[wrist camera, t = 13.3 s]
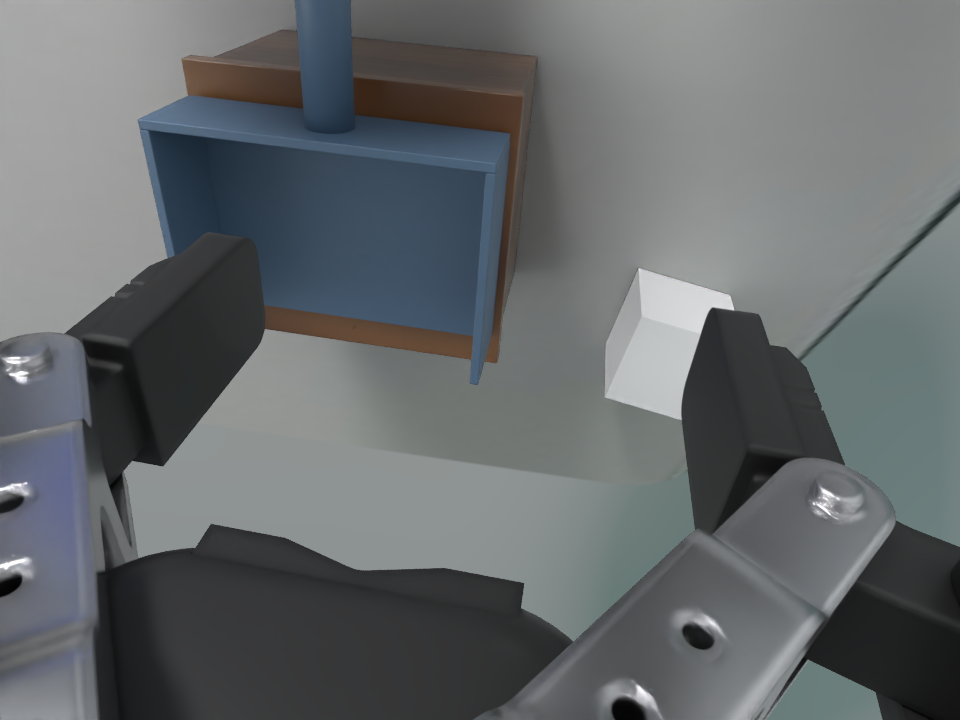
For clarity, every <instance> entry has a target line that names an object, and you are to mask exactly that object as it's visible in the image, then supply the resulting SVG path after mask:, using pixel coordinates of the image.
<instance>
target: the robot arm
mask: <svg viewBox="0 0 960 720" xmlns="http://www.w3.org/2000/svg"><path fill="white" fill-rule="evenodd" d="M265 320H266V316H265V307H264V299H263V291H262V283H261V275H260V268H259V260H258V253H257V248H256V245H255V243H254V242H253V240H251V239H250V238H245V237H238V236H231V235H225V234H218V233H211V232H208V233H205V234H204V235H202V236H201V237H200V238H199V239H198V240H196V241H195V242H194V243H193V244H192V245H190V246H189V247H188V248H187V249H186V250H184V251H183V252H182V253H181V254H179V255H175V256H172V257H170V258H167V259H165V260H163V261H160V262H158V263H155V264H153V265H151V266H149V267H147V268H146V269H145V270H144V271H142V272H141V273H140V274H139V275H137V276H136V277H135V278H134V279H132V280H131V283H130V284H126V285H125V286H124V287H122V288H121V289H120V290H119V291H117V292H116V293H115V297H112V296H111V297H110V298H109V299H107V300H106V301H105V302H104V303H102V304H101V305H100V306H99V307H97V308H96V309H95V310H93V311H92V312H91V313H90V314H88V315H87V316H86V317H85V318H83V319H82V320H81V321H80V322H78V323H77V324H76V325H75V326H73V327H72V328H71V329H70V330H68V331H67V332H66V333H65V334H62V333H53V332H43V333H32V334H26V335H21V336H17V337H14V338H10V339H7V340H5V341H2V342H0V720H766V719H767V718H768V716H769V715H770V714H771V712H772V711H773V710H774V708H775V707H776V705H777V704H778V703H779V701H780V700H781V698H782V697H783V696H784V694H785V693H786V691H787V690H788V689H789V687H790V686H791V684H792V683H793V682H794V680H795V679H796V677H797V676H798V674H799V673H800V672H801V670H802V669H803V667H804V666H805V665H806V663H807V662H808V660H810V661H812V662H814V663H817V664H819V665H821V666H823V667H825V668H827V669H829V670H831V671H833V672H835V673H837V674H840V675H842V676H844V677H846V678H848V679H850V680H852V681H854V682H856V683H858V684H861V685H863V686H865V687H867V688H869V689H871V690H873V691H875V692H876V695H877V699H878V703H879V707H880V711H881V715H882V719H883V720H960V547H958V546H955V545H953V544H950V543H948V542H945V541H943V540H940V539H937V538H935V537H932V536H930V535H927V534H925V533H922V532H920V531H917V530H914V529H912V528H910V527H908V526H905V525H903V524H901V523H900V522H898V521H896V515H895V510H894V508H893V505H892V504H891V502H890V500H889V499H888V497H887V496H886V495H885V493H884V492H883V491H882V490H881V489H880V488H879V487H878V486H877V485H876V484H875V483H873V482H872V481H871V480H869V479H868V478H867V477H865V476H863V475H862V474H860V473H859V472H857V471H855V470H853V469H851V468H849V467H847V466H845V463H844V461H843V459H842V456H841V453H840V451H839V449H838V446H837V443H836V441H835V438H834V436H833V433H832V431H831V428H830V426H829V423H828V421H827V418H826V416H825V413H824V411H822V410H821V407H822V406H821V403H820V401H819V398H818V396H817V393H814V390H815V388H814V385H813V383H812V381H811V378H810V375H809V373H808V371H807V368H806V367H805V366H804V365H803V364H802V363H801V362H800V361H799V360H798V359H797V358H796V357H795V356H794V355H793V354H792V353H791V352H790V351H789V350H788V349H787V348H785V347H778V346H771V345H770V344H769V341H768V338H767V335H766V332H765V329H764V326H763V323H762V320H761V318H760V316H759V314H755V313H749V312H742V311H735V310H728V309H721V308H715V307H713V308H711V309H710V311H709V312H708V314H707V317H706V319H705V322H704V325H703V328H702V332H701V335H700V338H699V341H698V344H697V347H696V351H695V354H694V357H693V360H692V363H691V366H690V370H689V373H688V376H687V379H686V382H685V386H684V391H683V397H682V406H681V417H682V426H683V434H684V442H685V451H686V459H687V467H688V475H689V484H690V492H691V500H692V508H693V516H694V525H695V531H693V532H692V533H690V534H689V535H688V536H687V537H686V538H685V539H684V540H683V541H681V542H680V543H679V544H678V545H677V546H676V547H675V548H674V549H673V550H672V551H671V552H670V553H669V554H667V555H666V556H665V557H664V558H663V559H662V560H661V561H660V562H659V563H658V564H657V565H656V566H654V567H653V568H652V569H651V570H650V571H649V572H648V573H647V574H646V575H645V576H644V577H643V578H642V579H640V581H638V582H637V583H636V584H635V585H634V586H633V587H632V588H631V589H630V590H629V591H628V592H626V593H625V594H624V595H623V596H622V597H621V598H620V599H619V600H618V601H617V602H616V603H615V604H614V605H613V606H611V607H610V608H609V609H608V610H607V611H606V612H605V613H604V614H603V615H602V616H601V617H600V618H599V619H597V620H596V621H595V622H594V623H593V624H592V625H591V626H590V627H589V628H588V629H587V630H586V631H584V632H583V633H582V634H581V635H580V636H579V637H578V638H577V639H576V640H575V641H574V642H573V641H572V640H571V639H570V638H569V637H567V636H566V635H565V634H563V633H562V632H561V631H560V630H558V629H557V628H556V627H554V626H553V625H551V624H550V623H548V622H546V621H544V620H543V619H541V618H540V617H538V616H536V615H534V614H532V613H530V612H528V611H526V610H523V609H521V603H522V595H523V588H524V583H521V582H515V581H509V580H505V579H499V578H494V577H488V576H483V575H478V574H473V573H468V572H462V571H457V570H452V569H446V568H433V569H402V570H371V571H364V570H363V571H361V570H356V569H353V568H350V567H348V566H345V565H343V564H341V563H339V562H337V561H334V560H332V559H330V558H328V557H326V556H323V555H321V554H319V553H317V552H315V551H312V550H310V549H308V548H306V547H304V546H302V545H299V544H297V543H295V542H293V541H291V540H289V539H286V538H282V537H277V536H272V535H267V534H261V533H256V532H251V531H245V530H240V529H235V528H229V527H224V526H219V525H214V524H211V525H210V526H209V528H208V529H207V531H206V532H205V534H204V536H203V537H202V539H201V540H200V542H199V543H198V545H197V546H196V548H187V549H179V550H172V551H165V552H161V553H157V554H152V555H148V556H145V557H142V558H139V559H138V552H137V545H136V538H135V531H134V524H133V518H132V511H131V504H130V497H129V490H128V484H127V481H126V477H125V474H124V470H125V469H126V467H127V466H128V465H129V464H130V463H131V461H136V462H142V463H147V464H153V465H158V466H164V465H165V463H166V462H167V461H168V460H169V458H170V457H171V456H172V455H173V453H174V452H175V451H176V450H177V448H178V447H179V446H180V445H181V443H182V442H183V441H184V439H185V438H186V437H187V436H188V434H189V433H190V432H191V430H192V429H193V428H194V427H195V426H196V424H197V423H198V422H199V421H200V419H201V418H202V417H203V415H204V414H205V413H206V412H207V410H208V409H209V408H210V407H211V405H212V404H213V403H214V402H215V400H216V399H217V398H218V397H219V395H220V394H221V393H222V391H223V390H224V389H225V388H226V386H227V385H228V384H229V383H230V381H231V380H232V379H233V378H234V376H235V375H236V374H237V373H238V371H239V370H240V369H241V368H242V366H243V365H244V364H245V362H246V361H247V360H248V359H249V357H250V356H251V355H252V354H253V352H254V351H255V350H256V349H257V347H258V346H259V344H260V342H261V340H262V337H263V333H264V329H265Z"/></svg>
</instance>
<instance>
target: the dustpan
mask: <svg viewBox="0 0 960 720" xmlns="http://www.w3.org/2000/svg"><path fill="white" fill-rule="evenodd" d="M295 9H296V21H297V34H298V47H299V59H300V72H301V84H302V97H303V109H302V108H293V107H285V106H276V105H268V104H260V103H251V102H243V101H234V100H226V99H218V98H209V97H201V96H192V95H189V96H187V97H185V98H182V99H180V100H178V101H176V102H174V103H172V104H170V105H167V106H165V107H163V108H161V109H159V110H157V111H155V112H153V113H150V114H148V115H146V116H144V117H142V118H140V119H138V124H139V128H140V133H141V138H142V142H143V147H144V151H145V156H146V161H147V165H148V170H149V174H150V179H151V183H152V188H153V193H154V197H155V202H156V206H157V211H158V215H159V220H160V225H161V229H162V234H163V238H164V243H165V248H166V252H167V257H168V258H170V257H172V256H175V255H179V254H181V253H182V252H183V251H184V250H186V249H187V248H188V247H189V246H190V245H192V244H193V243H194V242H195V241H196V240H198V239H199V238H200V237H201V236H202V235H204V234H205V233H208V232H211V233H218V234H225V235H231V236H238V237H245V238H250V239H251V240H253V242H254V243H255V245H256V248H257V253H258V260H259V268H260V275H261V283H262V291H263V299H264V305H267V306H274V307H280V308H287V309H294V310H301V311H307V312H314V313H321V314H328V315H334V316H341V317H348V318H355V319H361V320H368V321H375V322H382V323H388V324H395V325H402V326H409V327H415V328H422V329H429V330H436V331H442V332H449V333H456V334H463V335H469V336H473V347H472V360H471V373H470V384H475V385H478V383H479V380H480V376H481V372H482V369H483V365H484V362H485V358H486V354H487V351H488V347H489V344H490V340H491V336H492V329H493V319H494V308H495V298H496V287H497V277H498V266H499V256H500V245H501V235H502V224H503V213H504V203H505V192H506V182H507V171H508V161H509V150H510V133H503V132H495V131H486V130H478V129H470V128H461V127H453V126H444V125H436V124H428V123H419V122H411V121H402V120H394V119H386V118H377V117H369V116H360V115H355V110H354V83H353V55H352V28H351V1H350V0H295Z"/></svg>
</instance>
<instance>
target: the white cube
mask: <svg viewBox="0 0 960 720" xmlns="http://www.w3.org/2000/svg"><path fill="white" fill-rule="evenodd" d="M713 307H715V308H721V309H728V310H734V307H733V303H732V300H731V297H730V295H727V294H724V293H721V292H717V291H714V290H711V289H707V288H704V287H701V286H697V285H694V284H691V283H687V282H684V281H680V280H677V279H674V278H670V277H667V276H664V275H660V274H657V273H654V272H650V271H647V270H643V269H640V268H638V270H637V273H636V275H635V277H634V280H633V282H632V284H631V287H630V289H629V291H628V294H627V296H626V298H625V301H624V303H623V305H622V307H621V310H620V312H619V314H618V317H617V319H616V321H615V324H614V326H613V328H612V331H611V333H610V335H609V338H608V340H607V342H606V357H605V398H609V399H612V400H615V401H619V402H622V403H626V404H629V405H632V406H636V407H639V408H642V409H646V410H649V411H653V412H656V413H659V414H663V415H666V416H669V417H673V418H676V419H679V420H682V417H681V406H682V397H683V391H684V386H685V382H686V379H687V376H688V373H689V370H690V366H691V363H692V360H693V357H694V354H695V351H696V347H697V344H698V341H699V338H700V335H701V332H702V328H703V325H704V322H705V319H706V317H707V314H708V312H709V311H710V309H711V308H713Z"/></svg>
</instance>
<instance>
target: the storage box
mask: <svg viewBox="0 0 960 720" xmlns="http://www.w3.org/2000/svg"><path fill="white" fill-rule="evenodd" d="M352 55H353V83H354V110H355V115H360V116H369V117H377V118H386V119H394V120H402V121H411V122H419V123H428V124H436V125H444V126H453V127H461V128H470V129H478V130H486V131H495V132H503V133H510V150H509V161H508V171H507V182H506V192H505V203H504V213H503V224H502V235H501V245H500V256H499V266H498V277H497V287H496V298H495V308H494V319H493V329H492V336H491V340H490V344H489V347H488V351H487V354H486V358H485V362H491V363H497V361H498V357H499V350H500V341H501V331H502V321H503V313H504V310H505V306H506V302H507V298H508V295H509V291H510V287H511V283H512V279H513V276H514V272H515V263H516V254H517V244H518V235H519V226H520V216H521V207H522V198H523V188H524V179H525V170H526V160H527V151H528V142H529V132H530V123H531V114H532V104H533V95H534V86H535V76H536V67H537V57H536V56H527V55H518V54H508V53H499V52H489V51H480V50H470V49H460V48H451V47H441V46H432V45H422V44H413V43H403V42H393V41H384V40H374V39H365V38H355V37H352ZM182 64H183V70H184V75H185V81H186V87H187V92H188V96H189V95H192V96H201V97H209V98H218V99H226V100H234V101H243V102H251V103H260V104H268V105H276V106H285V107H293V108H302V109H303V97H302V84H301V72H300V59H299V47H298V34H297V31H288V30H280V31H277V32H275V33H272V34H270V35H267V36H265V37H262V38H260V39H257V40H255V41H253V42H250V43H248V44H245V45H243V46H240V47H238V48H235V49H233V50H230V51H228V52H225V53H223V54H220V55H218V56H215V57H204V56H195V55H190V56H187V57H184V58H182ZM264 307H265V316H266V320H265V329H270V330H276V331H283V332H290V333H296V334H303V335H310V336H317V337H323V338H330V339H337V340H343V341H350V342H357V343H364V344H370V345H377V346H384V347H391V348H397V349H404V350H411V351H417V352H424V353H431V354H438V355H444V356H451V357H458V358H464V359H471V360H472V347H473V336H469V335H463V334H456V333H449V332H442V331H436V330H429V329H422V328H415V327H409V326H402V325H395V324H388V323H382V322H375V321H368V320H361V319H355V318H348V317H341V316H334V315H328V314H321V313H314V312H307V311H301V310H294V309H287V308H280V307H274V306H267V305H264Z"/></svg>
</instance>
